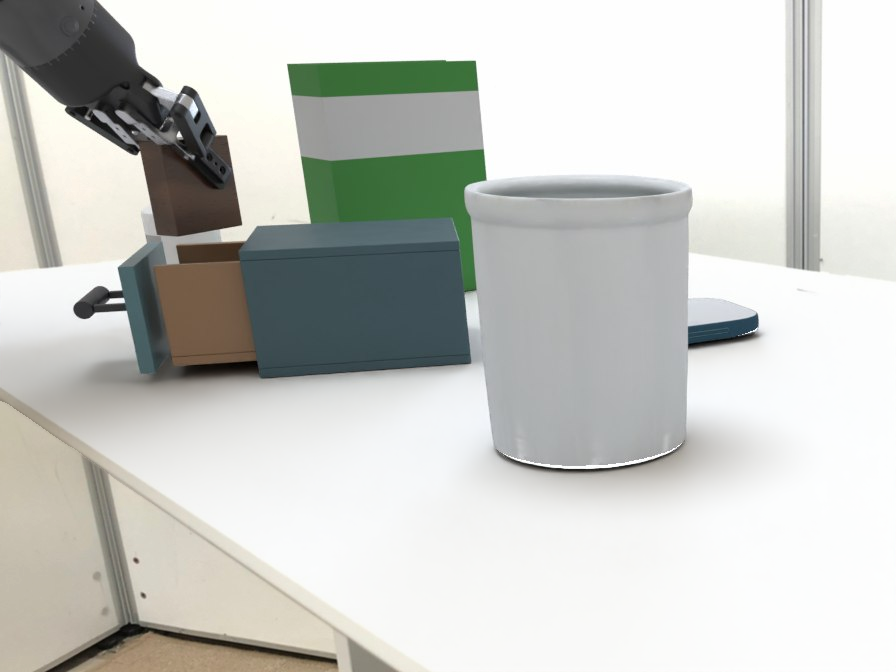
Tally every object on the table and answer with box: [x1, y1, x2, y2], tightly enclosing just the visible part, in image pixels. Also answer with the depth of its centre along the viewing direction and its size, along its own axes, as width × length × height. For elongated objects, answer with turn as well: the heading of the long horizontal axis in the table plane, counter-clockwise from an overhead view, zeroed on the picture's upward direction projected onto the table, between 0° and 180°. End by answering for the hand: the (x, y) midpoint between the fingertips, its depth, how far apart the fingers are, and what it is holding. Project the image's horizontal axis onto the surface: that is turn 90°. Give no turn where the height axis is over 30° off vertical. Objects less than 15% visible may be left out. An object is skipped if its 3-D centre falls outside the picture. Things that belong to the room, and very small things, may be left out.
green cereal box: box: [286, 59, 488, 292], centre depth 130 cm, size 18×7×24 cm, turn 131°
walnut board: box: [139, 134, 243, 237], centre depth 101 cm, size 2×7×8 cm, turn 155°
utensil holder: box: [464, 174, 694, 466], centre depth 82 cm, size 15×15×18 cm
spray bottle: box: [140, 133, 223, 265], centre depth 118 cm, size 7×7×18 cm
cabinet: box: [238, 217, 472, 379], centre depth 108 cm, size 18×15×11 cm
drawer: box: [72, 240, 257, 375], centre depth 105 cm, size 21×13×9 cm, turn 105°
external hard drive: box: [688, 297, 760, 345], centre depth 112 cm, size 24×12×2 cm, turn 120°
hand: (210, 179), depth 102 cm, fingers closed on walnut board, 2 cm apart
